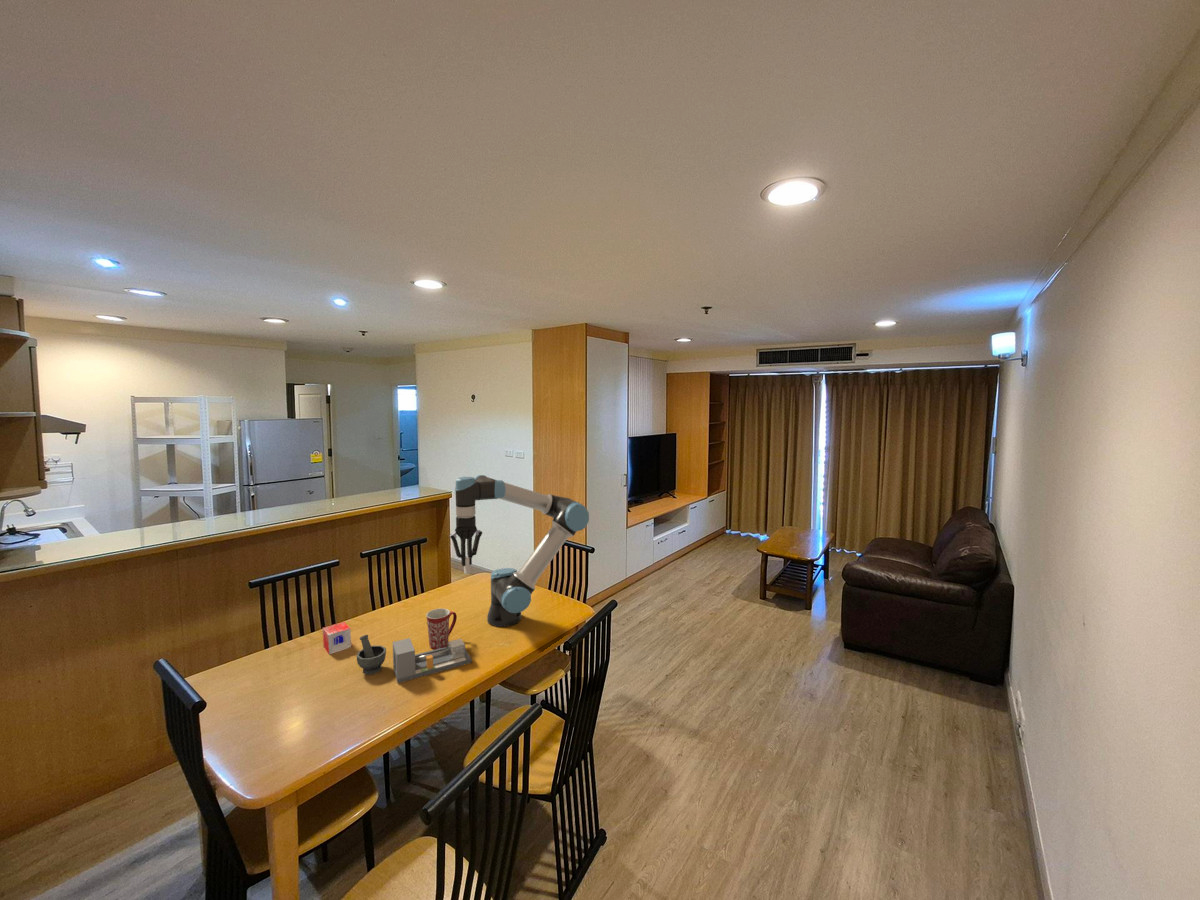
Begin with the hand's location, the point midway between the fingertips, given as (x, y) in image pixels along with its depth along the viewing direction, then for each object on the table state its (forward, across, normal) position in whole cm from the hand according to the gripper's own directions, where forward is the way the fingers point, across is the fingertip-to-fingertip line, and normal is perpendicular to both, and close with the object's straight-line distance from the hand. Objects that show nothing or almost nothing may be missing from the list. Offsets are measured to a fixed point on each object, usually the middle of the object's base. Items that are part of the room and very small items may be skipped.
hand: (466, 572), depth 190 cm
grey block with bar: (+28, +15, +12) cm, 33 cm away
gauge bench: (+29, +16, +11) cm, 35 cm away
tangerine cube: (+27, +18, +15) cm, 36 cm away
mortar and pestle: (+30, +36, +2) cm, 47 cm away
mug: (+30, +9, -4) cm, 31 cm away
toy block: (+30, +46, -22) cm, 59 cm away
